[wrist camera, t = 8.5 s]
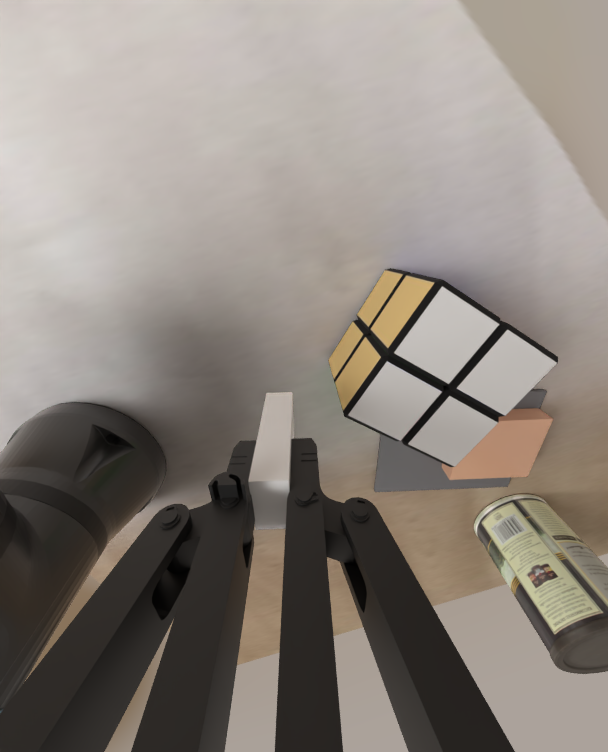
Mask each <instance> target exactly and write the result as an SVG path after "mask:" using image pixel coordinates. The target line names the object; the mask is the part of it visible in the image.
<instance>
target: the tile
mask: <svg viewBox="0 0 608 752" xmlns="http://www.w3.org/2000/svg"><path fill="white" fill-rule="evenodd" d="M552 421H553V418H551V417H550V416H549V415H547V414H546V413H544V412H543V411H541V410H540V409H539V408H530V409H512V410H511V411H510V412H509V413H508V414H507V415H506V416H502V417H499V423H498V424H497V425H496V426H495V427H494V428H493V429H492V430H491V431H490V432H489V433H488V434H487V435H486V436H485V437H484V438H483V439H482V440H481V441H480V442H479V443H478V444H477V445H476V446H475V447H474V448H473V449H472V450H471V451H470V452H469V453H468V454H467V455H466V456H465V457H464V458H463V459H462V460H461V461H460V462H459V463H458V464H457V465H456V466H455V467H449V466H447V465H445V464H443V463H442V469H443V470H444V472H445V473H446V475H447V477H448V478H449V480H458V479H483V478H508V477H528V475H529V472H530V470H531V468H532V466H533V463H534V461H535V459H536V457H537V454H538V452H539V450H540V448H541V446H542V443H543V441H544V439H545V437H546V434H547V432H548V430H549V428H550V425H551V423H552Z"/></svg>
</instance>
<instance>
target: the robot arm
mask: <svg viewBox="0 0 608 752" xmlns="http://www.w3.org/2000/svg"><path fill="white" fill-rule="evenodd" d="M165 473H166V462H165V458H164V455H163V452H162V450H161V448H160V446H159V445H158V443H157V442H156V440H155V439H154V438H153V437H152V436H151V434H150V433H149V432H148V431H147V430H145V429H144V428H143V427H142V426H141V425H139V424H138V423H137V422H135V421H134V420H132V419H130V418H129V417H127V416H125V415H123V414H121V413H119V412H117V411H114V410H112V409H109V408H106V407H102V406H98V405H93V404H86V403H65V404H59V405H55V406H52V407H49V408H47V409H45V410H43V411H41V412H39V413H38V414H37V415H35V416H34V417H32V418H31V419H29V420H28V421H26V422H25V423H24V424H22V425H21V426H20V427H19V428H18V429H17V430H16V431H15V432H14V433H13V435H12V436H11V438H10V440H9V442H8V443H7V446H6V447H5V448H4V449H3V451H2V452H1V453H0V752H104V751H105V749H106V747H107V745H108V743H109V741H110V740H111V738H112V736H113V734H114V732H115V730H116V728H117V726H118V724H119V722H120V721H121V719H122V716H123V715H124V713H125V711H126V709H127V707H128V705H129V703H130V701H131V700H132V697H133V696H134V694H135V692H136V690H137V688H138V686H139V684H140V682H141V680H142V678H143V677H144V675H145V673H146V671H147V669H148V667H149V665H150V663H151V661H152V659H153V657H154V655H155V654H156V652H157V650H158V648H159V646H160V644H161V642H162V640H163V638H164V636H165V634H166V633H167V631H168V629H169V627H170V625H171V623H172V621H173V619H174V621H173V624H172V627H171V630H170V633H169V636H168V639H167V642H166V645H165V649H164V652H163V655H162V658H161V661H160V664H159V668H158V670H157V673H156V676H155V679H154V683H153V686H152V689H151V692H150V695H149V698H148V701H147V704H146V707H145V710H144V713H143V717H142V720H141V723H140V726H139V729H138V732H137V735H136V738H135V741H134V745H133V748H132V751H131V752H224V750H225V744H226V737H227V729H228V723H229V716H230V709H231V701H232V695H233V688H234V681H235V673H236V666H237V660H238V653H239V646H240V639H241V632H242V625H243V618H244V611H245V604H246V597H247V590H248V583H249V576H250V569H251V562H252V555H253V547H254V537H253V530H254V524H255V528H256V530H262V529H286V531H285V552H284V573H283V593H282V614H281V635H280V658H279V676H278V677H279V678H278V697H277V718H276V740H275V752H343V746H342V734H341V722H340V711H339V698H338V687H337V675H336V662H335V650H334V639H333V627H332V615H331V603H330V591H329V579H328V567H327V557H329V558H332V559H335V560H338V561H340V563H341V566H342V569H343V572H344V574H345V577H346V580H347V583H348V585H349V588H350V591H351V594H352V596H353V599H354V602H355V605H356V608H357V610H358V613H359V616H360V619H361V621H362V624H363V627H364V630H365V632H366V635H367V638H368V641H369V643H370V646H371V649H372V652H373V654H374V657H375V660H376V663H377V666H378V668H379V671H380V674H381V677H382V679H383V682H384V685H385V688H386V690H387V693H388V696H389V699H390V701H391V704H392V707H393V710H394V713H395V715H396V718H397V721H398V724H399V726H400V729H401V732H402V735H403V737H404V740H405V743H406V745H407V748H408V751H409V752H515V751H514V750H513V748H512V746H511V744H510V743H509V741H508V739H507V737H506V735H505V734H504V732H503V730H502V728H501V727H500V725H499V723H498V722H497V720H496V718H495V716H494V714H493V713H492V711H491V709H490V707H489V705H488V704H487V702H486V700H485V698H484V697H483V695H482V693H481V691H480V690H479V688H478V687H477V684H476V683H475V681H474V679H473V677H472V676H471V674H470V672H469V670H468V669H467V667H466V665H465V663H464V662H463V660H462V658H461V656H460V654H459V653H458V651H457V649H456V647H455V646H454V644H453V642H452V641H451V639H450V637H449V635H448V633H447V632H446V630H445V628H444V626H443V625H442V623H441V621H440V619H439V618H438V616H437V614H436V612H435V610H434V609H433V607H432V605H431V603H430V602H429V600H428V598H427V596H426V595H425V593H424V591H423V589H422V588H421V586H420V584H419V582H418V581H417V579H416V577H415V575H414V574H413V572H412V570H411V568H410V567H409V565H408V563H407V561H406V559H405V558H404V556H403V554H402V552H401V551H400V549H399V547H398V545H397V544H396V542H395V540H394V538H393V537H392V535H391V533H390V531H389V530H388V528H387V526H386V524H385V523H384V521H383V519H382V517H381V515H380V514H379V512H378V510H377V508H376V507H375V506H374V505H373V504H372V503H371V502H370V501H368V500H366V499H363V498H359V497H357V498H351V499H349V500H346V502H345V503H341V502H337V501H334V500H331V499H329V498H328V497H326V496H325V495H324V494H323V492H322V490H321V488H320V482H319V470H318V458H317V446H316V444H315V442H314V441H313V440H312V438H304V439H294V414H293V394H292V392H279V393H266V398H265V403H264V407H263V412H262V417H261V422H260V427H259V432H258V436H257V441H240V442H239V443H238V444H237V445H236V447H235V448H234V450H233V453H232V456H231V459H230V463H229V466H228V469H227V472H224V473H222V474H219V475H217V476H216V477H215V478H214V479H212V480H211V482H210V484H209V485H208V486H209V490H210V494H211V498H212V501H211V502H210V503H208V504H206V505H203V506H201V507H197V508H194V509H191V510H189V509H188V508H187V506H185V505H182V504H173V505H170V506H167V507H165V508H163V509H162V510H160V511H159V512H158V513H157V514H156V515H155V516H154V517H153V518H152V520H151V521H150V522H149V524H148V525H147V526H146V527H145V529H144V530H143V531H142V533H141V534H140V535H139V536H138V538H137V539H136V540H135V541H134V543H133V544H132V545H131V547H130V548H129V549H128V550H127V552H126V553H125V554H124V556H123V557H122V558H121V559H120V561H119V562H118V563H117V565H116V566H115V567H114V568H113V570H112V571H111V572H110V574H109V575H108V576H107V577H106V579H105V580H104V581H103V582H102V584H101V585H100V586H99V588H98V589H97V590H96V591H95V593H94V594H93V595H92V597H91V598H90V599H89V601H88V602H87V603H86V604H85V606H84V607H83V608H82V610H81V611H80V612H79V613H78V615H77V616H76V617H75V618H74V620H73V621H72V622H71V623H70V625H69V626H68V627H67V629H66V630H65V631H64V632H63V634H62V635H61V636H60V638H59V639H58V640H57V642H56V643H55V644H54V645H53V647H52V648H51V649H50V650H49V652H48V653H47V654H46V655H45V657H44V658H43V659H42V661H41V662H40V663H39V665H38V666H37V667H36V668H35V670H34V671H33V672H32V673H31V675H30V676H29V677H28V675H29V673H30V672H31V670H32V668H33V667H34V665H35V663H36V662H37V660H38V658H39V656H40V655H41V653H42V651H43V650H44V648H45V646H46V645H47V643H48V641H49V640H50V638H51V636H52V635H53V633H54V631H55V629H56V628H57V626H58V625H59V623H60V622H61V620H62V618H63V617H64V615H65V613H66V612H67V610H68V608H69V607H70V605H71V603H72V602H73V600H74V598H75V597H76V595H77V593H78V592H79V590H80V589H81V587H82V585H83V584H84V582H85V580H86V579H87V577H88V575H89V574H90V572H91V570H92V569H93V567H94V565H95V564H96V562H97V560H98V559H99V557H100V555H101V554H102V552H103V551H104V549H105V547H106V546H107V544H108V543H109V541H110V540H111V539H112V538H113V537H114V536H115V535H116V534H117V533H118V532H119V531H120V530H121V529H122V528H123V527H124V526H125V525H126V524H127V523H128V522H129V521H130V520H131V519H132V518H133V517H134V516H135V515H136V514H137V513H139V512H140V511H142V510H143V509H144V508H145V507H146V506H147V505H148V504H149V503H150V502H151V501H152V500H153V498H154V497H155V495H156V493H157V492H158V490H159V488H160V486H161V484H162V482H163V480H164V478H165ZM174 617H175V618H174ZM27 677H28V679H27V680H26V678H27ZM25 680H26V681H25ZM23 683H24V684H23Z"/></svg>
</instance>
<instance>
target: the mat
mask: <svg viewBox="0 0 608 752" xmlns="http://www.w3.org/2000/svg"><path fill="white" fill-rule="evenodd" d="M546 392H547V391H546V390H544V389H542V390H531V391H530V392H529V393H528V394H527V395H526V396H525V397H524V398H523V399H522V400H521V401H520V402H519V403H518V404H517V405H516V406H515V407H514V408H513V409H530V408H539V409H540V407H541V404H542V402H543V399H544V397H545V395H546ZM510 479H511V477H508V478H483V479H458V480H449V478H448V477H447V475H446V473H445V472H444V470H443V469H442V463H441V462H438V461H436V460H434V459H432V458H430V457H428V456H426V455H424V454H422V453H420V452H418V451H416V450H414V449H411V448H409V447H407V446H405V445H403V443H402V441H394V440H392V439H390V438H388V437H386V436H384V435H382V434H381V436H380V444H379V453H378V461H377V469H376V478H375V486H374V491H375V492H391V491H415V490H440V489H464V488H489V487H508V484H509V482H510Z"/></svg>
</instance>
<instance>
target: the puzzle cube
mask: <svg viewBox="0 0 608 752" xmlns="http://www.w3.org/2000/svg"><path fill="white" fill-rule="evenodd" d="M357 318H358V320H355V321H353V322H352V323H351V325H350V327H349V328H348V330H347V331H346V333H345V334H344V336H343V338H342V339H341V341H340V342H339V344H338V346H337V347H336V349H335V350H334V352H333V354H332V355H331V357H330V358H329V360H328V361H329V365H330V368H331V372H332V375H333V378H334V382H335V384H336V388H337V392H338V395H339V399H340V402H341V406H342V409H343V413H344V416H345V417H347V418H349V419H351V420H353V421H355V422H357V423H359V424H361V425H363V426H365V427H367V428H370V429H372V430H374V431H376V432H378V433H380V434H382V435H384V436H386V437H388V438H390V439H392V440H394V441H402V443H403V445H405V446H407V447H409V448H411V449H414V450H416V451H418V452H420V453H422V454H424V455H426V456H428V457H430V458H432V459H434V460H436V461H438V462H441V463H443V464H445V465H447V466H449V467H455V466H456V465H457V464H458V463H459V462H460V461H461V460H462V459H463V458H464V457H465V456H466V455H467V454H468V453H469V452H470V451H471V450H472V449H473V448H474V447H475V446H476V445H477V444H478V443H479V442H480V441H481V440H482V439H483V438H484V437H485V436H486V435H487V434H488V433H489V432H490V431H491V430H492V429H493V428H494V427H495V426H496V425H497V424H498V423H499V417H502V416H506V415H507V414H508V413H509V412H510V411H511V410H512V409H513V408H514V407H515V406H516V405H517V404H518V403H519V402H520V401H521V400H522V399H523V398H524V397H525V396H526V395H527V394H528V393H529V392H530V391H531V390H532V389H533V388H534V387H535V386H536V385H537V384H538V383H539V382H540V381H541V380H542V379H543V378H544V377H545V375H546V374H547V373H548V372H549V371H550V370H551V369H552V368H553V367H554V366H555V365H556V364H557V363H558V357H557V356H556V355H554V354H553V353H551V352H550V351H548V350H547V349H545V348H544V347H542V346H541V345H539V344H538V343H536V342H535V341H533V340H532V339H530V338H529V337H527V336H526V335H524V334H523V333H521V332H520V331H518V330H517V329H515V328H514V327H512V326H511V325H509V324H508V323H505V322H502V321H500V318H499V317H498V316H496V315H495V314H493V313H492V312H490V311H489V310H487V309H486V308H484V307H483V306H481V305H480V304H478V303H477V302H475V301H474V300H472V299H471V298H469V297H468V296H466V295H465V294H463V293H462V292H460V291H459V290H457V289H456V288H454V287H453V286H451V285H450V284H448V283H447V282H445V281H444V280H441V279H436V278H432V277H427V276H423V275H418V274H414V273H412V274H411V273H410V272H405V271H401V270H396V269H391V268H390V269H387V270H385V271H384V273H383V274H382V276H381V277H380V279H379V280H378V282H377V284H376V285H375V287H374V288H373V290H372V292H371V293H370V295H369V296H368V298H367V300H366V301H365V303H364V304H363V306H362V308H361V309H360V311H359V312H358V314H357Z"/></svg>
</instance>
